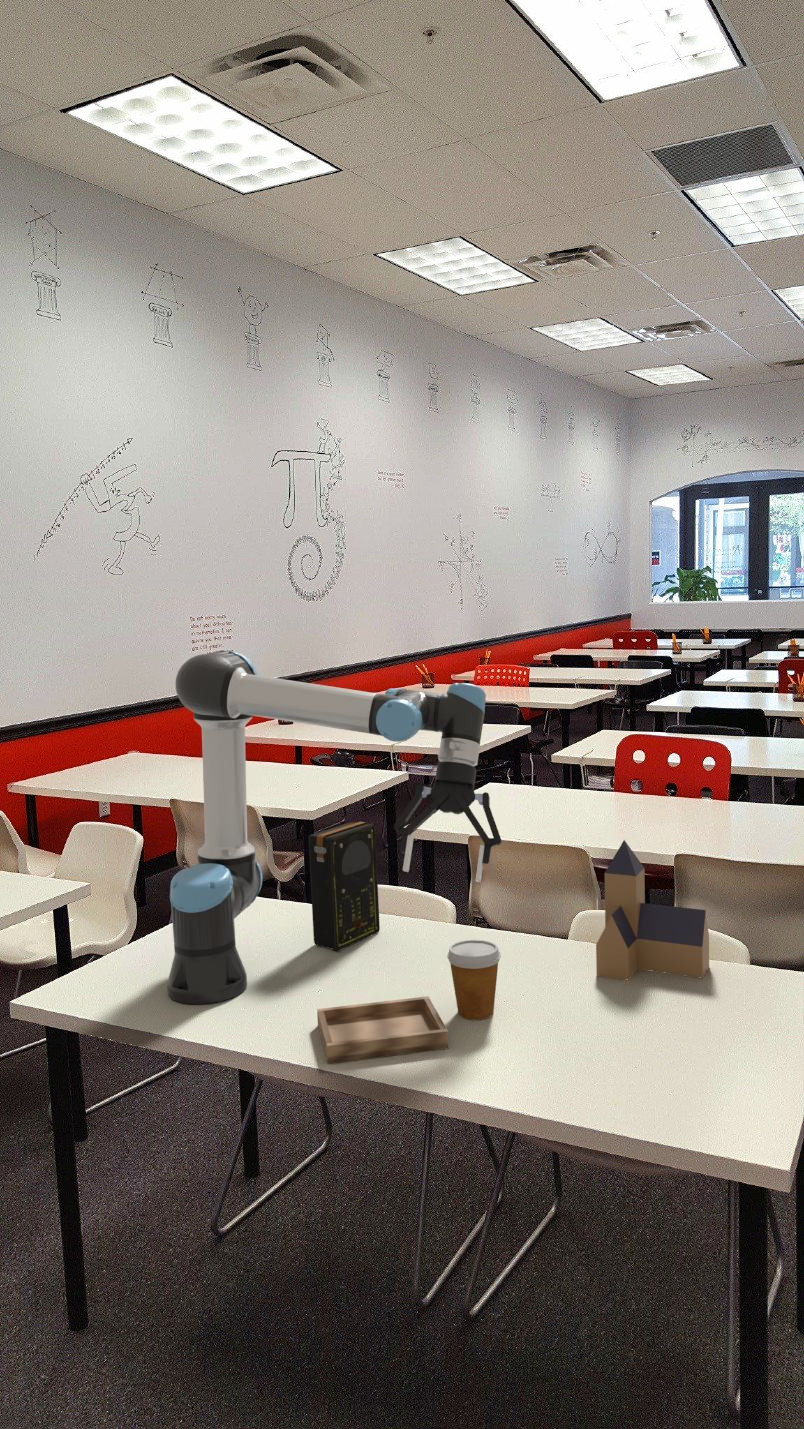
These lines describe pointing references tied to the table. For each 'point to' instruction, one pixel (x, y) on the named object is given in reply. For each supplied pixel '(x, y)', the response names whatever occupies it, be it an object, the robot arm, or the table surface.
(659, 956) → the model church
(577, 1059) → the table surface
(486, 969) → the disposable coffee cup
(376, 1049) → the trough tray
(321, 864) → the voltmeter
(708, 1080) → the table surface
